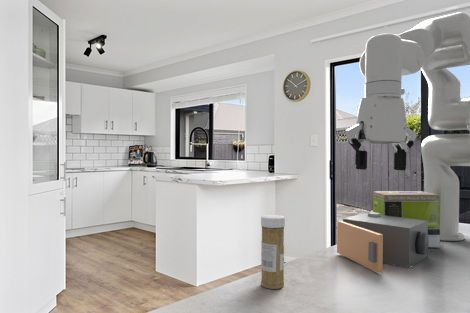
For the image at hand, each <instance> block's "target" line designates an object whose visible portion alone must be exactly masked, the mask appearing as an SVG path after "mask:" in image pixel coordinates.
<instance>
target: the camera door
mask: <svg viewBox="0 0 470 313" xmlns="http://www.w3.org/2000/svg"><path fill="white" fill-rule="evenodd" d="M336 222H337V223H336V224H337V225H336V253H337V254H339V255H341V256H344V257H345V258H347V259H349V260H351V261H353V262H355V263H357V264H359V265H362V266H364V267H365V268H367V269H370V270H372V271H373V272H375V273H377V274H380V273H383V264H384V263H383V235H382V234H379V233H376V232H373V231H370V230H367V229H364V228H361V227H358V226H355V225H352V224H349V223H346V222H343V220H337V221H336Z"/></svg>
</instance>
